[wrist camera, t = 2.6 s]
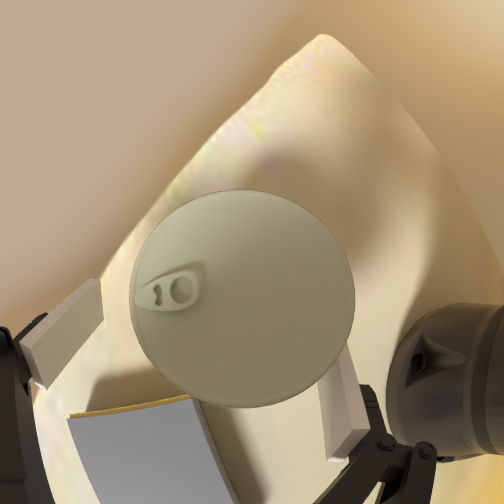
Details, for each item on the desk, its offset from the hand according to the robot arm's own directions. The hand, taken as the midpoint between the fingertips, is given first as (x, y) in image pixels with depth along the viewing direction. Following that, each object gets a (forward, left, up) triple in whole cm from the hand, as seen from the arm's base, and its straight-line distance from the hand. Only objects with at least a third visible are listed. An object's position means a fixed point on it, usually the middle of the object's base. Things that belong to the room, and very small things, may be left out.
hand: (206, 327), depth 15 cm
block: (+7, +10, -7) cm, 14 cm away
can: (-2, 0, -7) cm, 7 cm away
